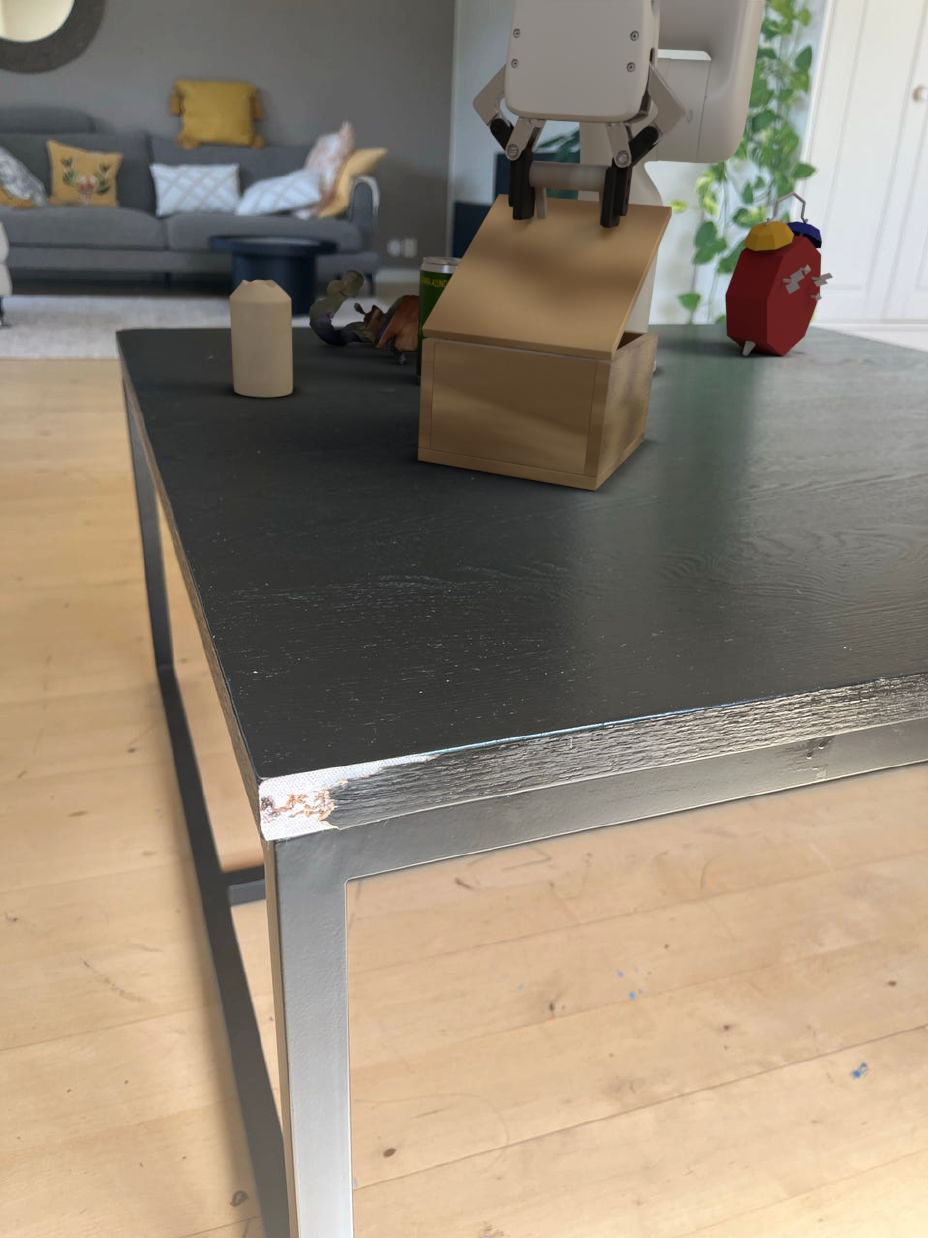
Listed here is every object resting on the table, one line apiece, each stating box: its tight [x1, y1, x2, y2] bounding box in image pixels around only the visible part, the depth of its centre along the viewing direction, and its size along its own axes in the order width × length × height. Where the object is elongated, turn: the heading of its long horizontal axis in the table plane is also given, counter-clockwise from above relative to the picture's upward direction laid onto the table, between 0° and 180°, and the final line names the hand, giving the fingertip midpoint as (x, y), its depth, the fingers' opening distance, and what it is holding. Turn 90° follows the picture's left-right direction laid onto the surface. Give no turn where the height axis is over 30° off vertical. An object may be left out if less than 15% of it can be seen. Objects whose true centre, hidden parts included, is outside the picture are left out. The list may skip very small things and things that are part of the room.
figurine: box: [308, 269, 419, 365], centre depth 110 cm, size 15×9×13 cm
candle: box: [229, 279, 294, 398], centre depth 88 cm, size 6×6×10 cm
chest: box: [417, 330, 659, 492], centre depth 75 cm, size 16×14×9 cm
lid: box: [422, 160, 673, 361], centre depth 69 cm, size 17×14×5 cm
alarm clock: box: [724, 190, 834, 357], centre depth 124 cm, size 15×9×20 cm, turn 136°
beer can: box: [415, 256, 463, 383], centre depth 97 cm, size 5×5×12 cm
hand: (565, 220), depth 71 cm, fingers closed on lid, 6 cm apart
